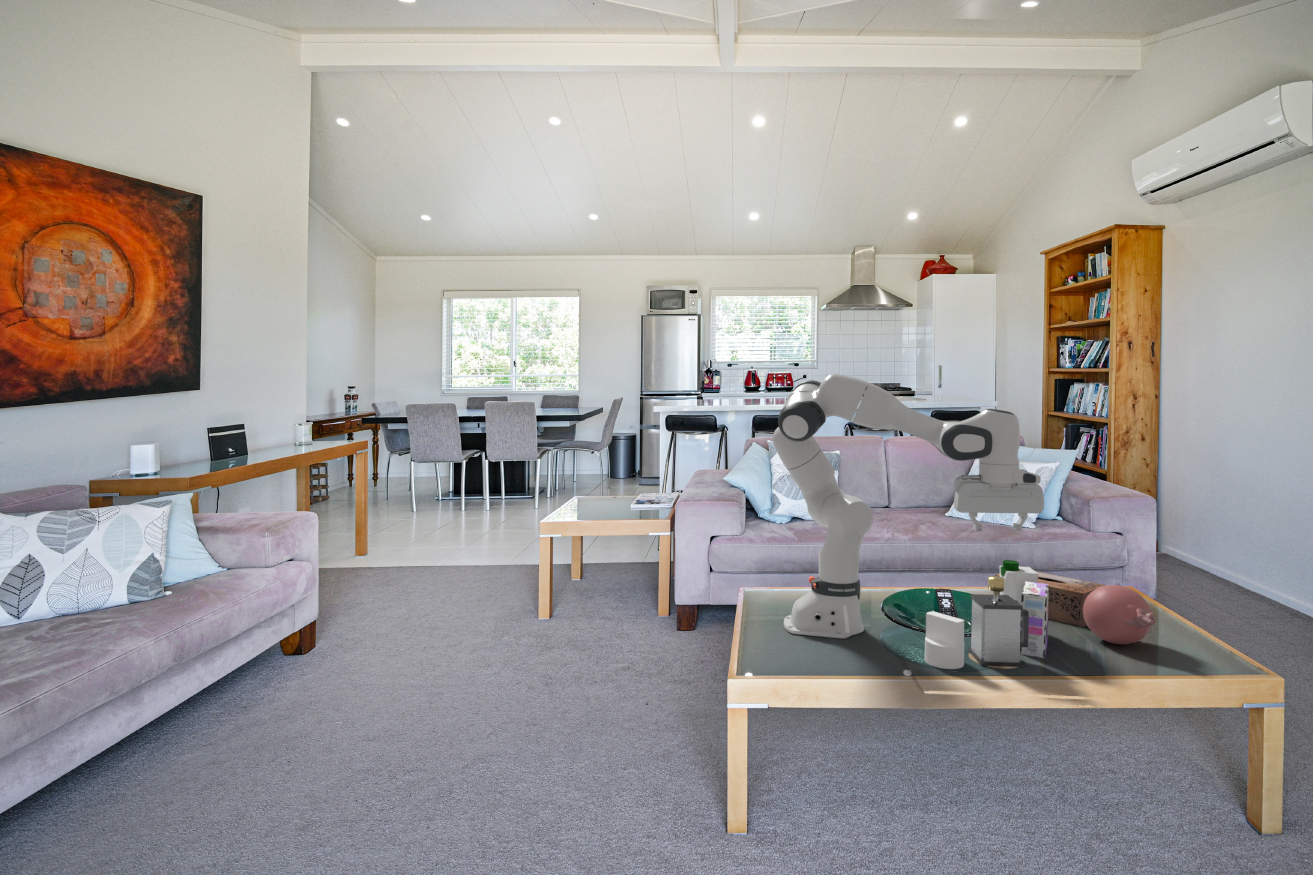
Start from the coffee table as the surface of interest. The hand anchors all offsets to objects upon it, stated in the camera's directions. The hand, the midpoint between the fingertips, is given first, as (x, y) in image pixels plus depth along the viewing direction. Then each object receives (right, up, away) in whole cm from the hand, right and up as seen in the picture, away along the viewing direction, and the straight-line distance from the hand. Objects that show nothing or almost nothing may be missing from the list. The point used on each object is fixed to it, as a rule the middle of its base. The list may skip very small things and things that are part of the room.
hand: (997, 530), depth 169 cm
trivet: (0, -33, +2) cm, 33 cm away
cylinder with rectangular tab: (-13, -33, 0) cm, 36 cm away
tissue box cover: (+36, -31, +41) cm, 63 cm away
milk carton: (+17, -32, +22) cm, 42 cm away
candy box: (+14, -33, +9) cm, 37 cm away
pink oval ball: (+39, -32, +12) cm, 52 cm away
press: (+2, -32, +2) cm, 32 cm away
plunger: (0, -29, +2) cm, 29 cm away
